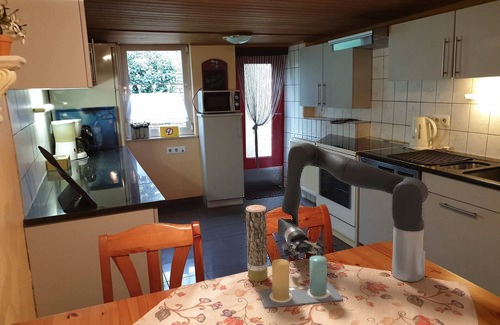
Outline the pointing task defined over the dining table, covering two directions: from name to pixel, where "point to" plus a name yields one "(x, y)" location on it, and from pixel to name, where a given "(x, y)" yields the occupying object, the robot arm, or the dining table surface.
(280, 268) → the amber tube
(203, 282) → the dining table surface
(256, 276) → the wooden log
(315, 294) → the teal tube
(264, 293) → the card
